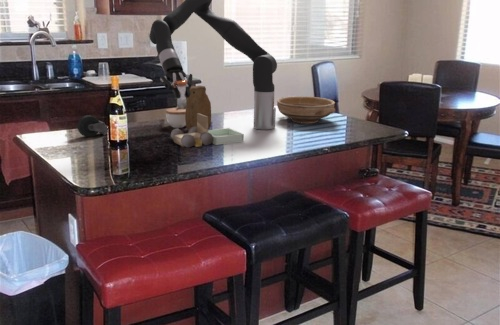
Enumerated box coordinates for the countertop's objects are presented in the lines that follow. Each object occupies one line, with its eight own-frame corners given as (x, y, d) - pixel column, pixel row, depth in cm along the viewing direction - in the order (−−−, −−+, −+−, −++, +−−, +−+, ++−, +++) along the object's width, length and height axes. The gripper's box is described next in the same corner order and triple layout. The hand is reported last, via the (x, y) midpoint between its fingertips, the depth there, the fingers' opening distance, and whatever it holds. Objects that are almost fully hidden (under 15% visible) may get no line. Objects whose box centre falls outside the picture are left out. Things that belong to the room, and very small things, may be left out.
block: (190, 133, 224) (189, 87, 218) (184, 129, 230) (183, 85, 225) (212, 131, 229) (212, 86, 223) (206, 127, 235) (206, 84, 229)
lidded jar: (191, 124, 242) (190, 104, 239) (187, 129, 232) (187, 108, 229) (168, 123, 242) (168, 104, 240) (164, 128, 232) (163, 108, 229)
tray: (228, 134, 222) (228, 127, 221) (243, 141, 211) (243, 134, 210) (201, 138, 216) (201, 131, 215) (215, 144, 205) (215, 137, 204)
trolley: (199, 137, 217) (198, 112, 213) (213, 144, 205) (213, 117, 202) (170, 140, 210) (170, 114, 207) (183, 148, 199) (183, 120, 196)
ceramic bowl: (352, 124, 247) (354, 104, 244) (308, 131, 231) (309, 109, 228) (302, 112, 275) (302, 93, 273) (260, 117, 259) (260, 98, 256)
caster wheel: (83, 141, 211) (116, 133, 220) (79, 119, 208) (112, 111, 217) (77, 139, 215) (110, 130, 224) (73, 117, 212) (106, 109, 221)
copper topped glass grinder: (185, 107, 205) (184, 79, 202) (190, 109, 201) (189, 81, 198) (174, 108, 203) (173, 80, 200) (178, 110, 199) (177, 81, 196)
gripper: (184, 68, 212) (197, 101, 205) (152, 69, 205) (164, 104, 198) (189, 56, 206) (202, 89, 199) (156, 57, 199) (168, 92, 193)
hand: (183, 96), depth 199 cm, fingers closed on copper topped glass grinder, 3 cm apart
